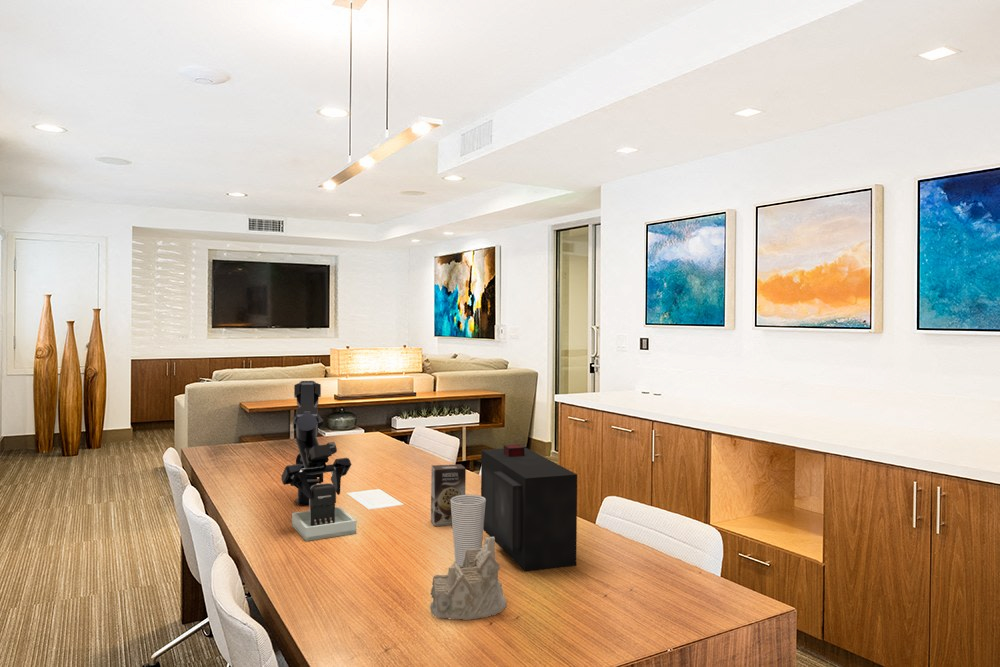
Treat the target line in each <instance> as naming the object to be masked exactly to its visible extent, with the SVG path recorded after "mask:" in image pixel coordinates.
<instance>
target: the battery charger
mask: <svg viewBox="0 0 1000 667" xmlns="http://www.w3.org/2000/svg"><path fill="white" fill-rule="evenodd" d="M310 489H311V492H312V496H313V498H312V500H310V499H309V504H308V505H309V511H310V526H317V525H323V524H330V523H335V507H336V503H337V493H336V489H335V487H334V486H333V484H332V482H331V483H330V482H327V483H321V484H319V483H317V484H316V485H313V486H312V487H311V488H310Z"/></svg>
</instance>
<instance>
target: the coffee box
mask: <svg viewBox="0 0 1000 667" xmlns="http://www.w3.org/2000/svg"><path fill="white" fill-rule="evenodd" d="M466 471H467V470H466V467H465V466H464V465H462V464H461V463H460V464H459V463H458V464H436V465H435V464H433V465H431V477H430V478H431V482H430V483H431V485H430V486H431V488H430V490H431V491H430V493H431V494H430V521H431V522H432V523H431V524H433V526H434V527H440V526H452V514H451V501H450V500H451V498H452V497H455V496H459V495H466V482H467V481H466V480H467V478H466V474H467V473H466Z"/></svg>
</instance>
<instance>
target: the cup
mask: <svg viewBox="0 0 1000 667" xmlns="http://www.w3.org/2000/svg"><path fill="white" fill-rule="evenodd" d="M450 501H451V514H452V525H451V527H452V537H453V538H452V539H453V549H454V562H456V563H457V564H458V565H459V566H460V568H463V565H462V564H463V562H464V559H465V554H466V550H467V549H479V548H482V547H483V539H484V538H483V536H484V530H483V528H484V517H485V505H486V499H485V498H484V497H482V496H481V495H478V494H465V495H459V496H455V497H452V498H451V500H450Z"/></svg>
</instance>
